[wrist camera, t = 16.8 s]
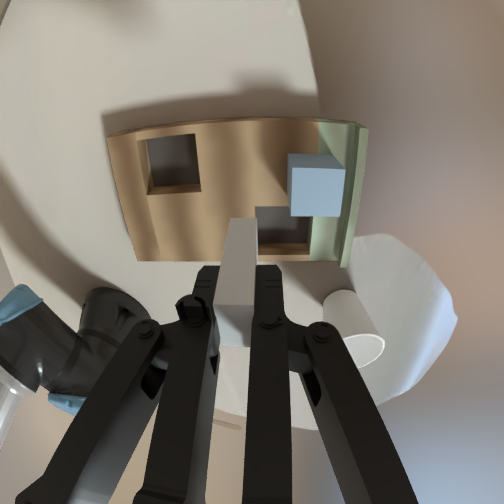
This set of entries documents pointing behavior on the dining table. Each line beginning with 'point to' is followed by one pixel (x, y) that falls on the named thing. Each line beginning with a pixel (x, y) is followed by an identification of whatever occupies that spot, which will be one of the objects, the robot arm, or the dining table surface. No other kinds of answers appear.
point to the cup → (353, 326)
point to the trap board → (233, 186)
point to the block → (314, 185)
